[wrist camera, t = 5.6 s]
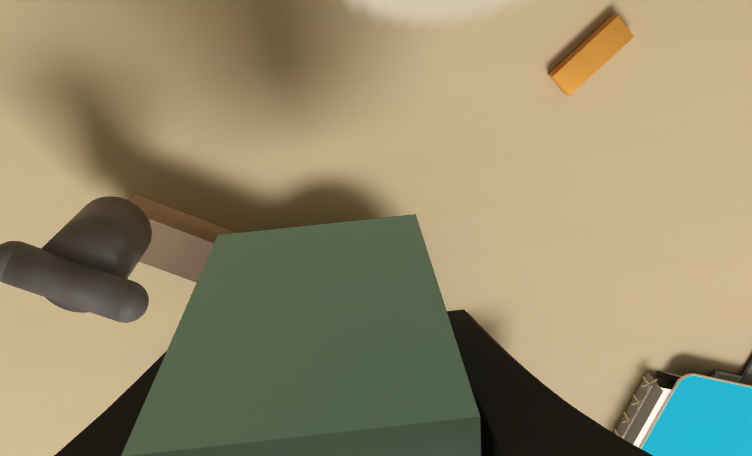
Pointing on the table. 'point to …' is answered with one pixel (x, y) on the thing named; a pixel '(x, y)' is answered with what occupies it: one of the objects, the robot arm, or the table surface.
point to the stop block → (313, 351)
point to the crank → (110, 256)
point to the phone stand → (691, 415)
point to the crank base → (591, 54)
